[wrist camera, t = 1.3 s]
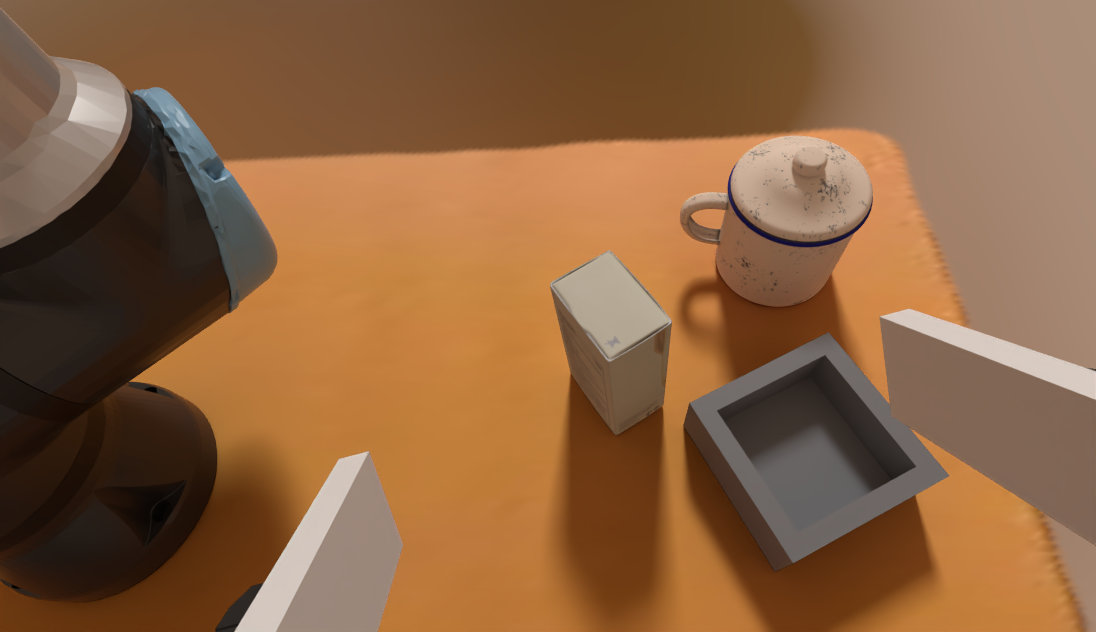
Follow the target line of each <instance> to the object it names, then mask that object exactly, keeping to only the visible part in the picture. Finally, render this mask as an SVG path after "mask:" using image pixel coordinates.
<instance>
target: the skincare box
mask: <svg viewBox="0 0 1096 632" xmlns="http://www.w3.org/2000/svg"><path fill="white" fill-rule="evenodd" d="M550 288H551V292H552V296H553V300H554V304H555V308H556V313H557V317H558V321H559V326H560V330H561V334H562V338H563V342H564V347H565V351H566V355H567V359H568V364H569V368H570V372H571V374H572V376H573V377H574V379H575V380H576V382H577V383H578V385H579V386H580V388H581V389H582V391H583V392H584V394H585V395H586V397H587V398H588V399H589V401H590V402H591V404H592V405H593V406H594V408H595V409H596V411H597V412H598V413H599V415H600V416H601V417H602V419H603V420H604V421H605V423H606V424H607V425H608V427H609V428H610V429H611V430H612V432H613V433H614V434H615V435H618V434H620V433H621V432H623V431H625V430H626V429H628V428H630V427H631V426H633V425H635V424H636V423H638V422H639V421H641V420H643V419H644V418H646V417H647V416H649V415H650V414H652V413H653V412H654V411H656V410H657V409H659V408H660V407H662V406H663V404H664V394H665V384H666V374H667V364H668V355H669V344H670V335H671V325H672V321H671V319H670V318H669V316H668V315H667V314H666V312H665V311H664V310H663V309H662V307H661V306H660V305H659V304H658V302H657V301H656V300H655V299H654V297H653V296H652V295H651V294H650V293H649V292H648V291H647V290H646V288H645V287H644V286H643V285H642V284H641V283H640V282H639V280H638V279H637V278H636V277H635V276H634V275H633V274H632V273H631V272H630V271H629V269H628V268H627V267H626V266H625V265H624V264H623V263H622V262H621V261H620V260H619V259H618V258H617V257H616V256H615V255H614V254H613V253H612V251H607V252H605V253H603V254H601V255H600V256H598V257H596V258H594V259H592V260H590V261H588V262H586V263H584V264H582V265H581V266H579V267H577V268H575V269H574V270H572V271H570V272H568V273H566V274H565V275H563V276H561V277H559V278H558V279H556V280H554V281H552V282H551V284H550Z"/></svg>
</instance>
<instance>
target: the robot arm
mask: <svg viewBox="0 0 1096 632" xmlns="http://www.w3.org/2000/svg"><path fill="white" fill-rule="evenodd" d="M276 265H277V250H276V247H275V244H274V242H273V239H272V237H271V235H270V234H269V232H268V230H267V228H266V226H265V225H264V223H263V221H262V220H261V218H260V216H259V215H258V213H257V211H256V210H255V208H254V207H253V205H252V203H251V202H250V200H249V199H248V197H247V196H246V194H245V193H244V191H243V190H242V188H241V187H240V185H239V184H238V183H237V181H236V180H235V178H234V177H233V175H232V174H231V173H230V172H229V171H228V170H227V169H226V168H225V167H224V164H223V162H222V160H221V159H220V158H219V156H218V155H217V154H216V152H215V150H214V149H213V147H212V145H211V144H210V142H209V141H208V140H207V138H206V137H205V135H204V134H203V133H202V131H201V130H200V129H199V128H198V126H197V125H196V124H195V122H194V121H193V120H192V119H191V117H190V116H189V115H188V113H187V112H186V111H185V110H184V108H183V107H182V106H181V105H180V104H179V103H178V102H177V100H176V99H175V98H174V97H173V96H172V95H171V94H169V93H168V92H167V91H166V90H164V89H161V88H150V89H147V90H142V89H141V91H138V90H136V91H134V92H133V94H131V93H130V92H129V91H128V90H127V89H126V88H125V86H124V85H123V84H122V83H121V82H120V81H119V80H118V79H117V78H116V77H115V76H114V75H113V74H112V73H110V72H109V71H107V70H106V69H104V68H102V67H100V66H98V65H96V64H92V63H89V62H85V61H79V60H72V59H65V58H58V57H51V56H48V55H47V54H46V53H45V52H44V51H43V50H42V49H41V48H40V47H39V46H38V45H37V44H36V43H35V42H34V41H33V40H32V39H31V38H30V37H29V36H28V35H27V34H26V33H25V32H24V31H23V30H22V29H21V28H20V27H19V26H18V25H17V24H16V23H15V22H14V21H13V20H12V19H11V18H10V17H9V16H8V15H7V14H6V13H5V12H4V11H3V10H2V9H1V8H0V580H1V581H2V582H3V583H4V584H5V585H7V586H8V587H10V588H11V589H13V590H14V591H16V592H18V593H20V594H22V595H25V596H28V597H32V598H36V599H40V600H48V601H62V602H88V601H94V600H99V599H103V598H106V597H109V596H112V595H115V594H117V593H119V592H122V591H124V590H126V589H128V588H130V587H132V586H133V585H135V584H137V583H138V582H140V581H142V580H143V579H145V578H146V577H147V576H149V575H150V574H151V573H153V572H154V571H155V570H157V569H158V568H159V567H160V566H161V565H162V564H163V563H165V562H166V561H167V560H168V559H169V558H170V557H171V556H172V555H173V554H174V552H175V551H176V550H177V549H178V548H179V547H180V546H181V544H182V543H183V542H184V541H185V539H186V538H187V537H188V535H189V534H190V532H191V531H192V529H193V528H194V526H195V525H196V523H197V521H198V520H199V518H200V516H201V514H202V512H203V510H204V508H205V506H206V504H207V501H208V499H209V496H210V493H211V490H212V487H213V483H214V479H215V473H216V465H217V449H216V441H215V437H214V433H213V430H212V428H211V426H210V423H209V422H208V420H207V418H206V417H205V415H204V414H203V413H202V412H201V410H200V409H199V408H197V407H196V406H195V405H194V404H193V403H191V402H190V401H188V400H186V399H184V398H183V397H181V396H179V395H177V394H175V393H173V392H172V391H170V390H167V389H165V388H162V387H160V386H156V385H152V384H148V383H140V382H129V381H130V380H132V379H133V378H135V377H136V376H138V375H139V374H140V373H142V372H143V371H145V370H146V369H148V368H149V367H151V366H152V365H153V364H155V363H156V362H158V361H159V360H161V359H162V358H164V357H165V356H166V355H168V354H169V353H171V352H172V351H174V350H175V349H176V348H178V347H179V346H181V345H182V344H184V343H185V342H187V341H188V340H189V339H191V338H192V337H194V336H195V335H197V334H198V333H200V332H201V331H202V330H204V329H205V328H207V327H208V326H210V325H211V324H213V323H214V322H215V321H217V320H218V319H220V318H221V317H223V316H224V315H226V314H227V313H231V312H232V311H233V310H235V309H236V308H237V307H238V305H239V302H240V301H242V300H243V299H244V298H245V297H247V296H248V295H249V294H250V293H252V292H253V291H254V290H255V289H257V288H258V287H259V286H260V285H261V284H263V283H264V282H265V281H266V280H268V279H269V278H270V276H271V275H272V273H273V272H274V269H275V267H276ZM880 324H881V333H882V341H883V349H884V358H885V366H886V375H887V383H888V391H889V400H890V408H891V416H892V417H893V418H895V419H897V420H898V421H900V422H901V423H903V424H905V425H906V426H908V427H909V428H911V429H912V430H914V431H916V432H917V433H919V434H920V435H922V436H923V437H925V438H927V439H928V440H930V441H931V442H933V443H934V444H936V445H938V446H939V447H941V448H942V449H944V450H945V451H947V452H949V453H950V454H952V455H953V456H955V457H956V458H958V459H960V460H961V461H963V462H964V463H966V464H968V465H969V466H971V467H972V468H974V469H975V470H977V471H979V472H980V473H982V474H983V475H985V476H986V477H988V478H990V479H991V480H993V481H994V482H996V483H997V484H999V485H1001V486H1002V487H1004V488H1005V489H1007V490H1008V491H1010V492H1012V493H1013V494H1015V495H1016V496H1018V497H1019V498H1021V499H1023V500H1024V501H1026V502H1027V503H1029V504H1031V505H1032V506H1034V507H1035V508H1037V509H1038V510H1040V511H1042V512H1043V513H1045V514H1046V515H1048V516H1049V517H1051V518H1053V519H1054V520H1056V521H1057V522H1059V523H1060V524H1062V525H1064V526H1065V527H1067V528H1069V529H1070V530H1072V531H1073V532H1075V533H1076V534H1078V535H1079V536H1081V537H1083V538H1084V539H1086V540H1087V541H1089V542H1090V543H1092V544H1094V545H1095V546H1096V369H1091V368H1085V367H1081V366H1078V365H1075V364H1072V363H1069V362H1066V361H1063V360H1060V359H1057V358H1054V357H1051V356H1048V355H1045V354H1042V353H1040V352H1037V351H1034V350H1030V349H1028V348H1025V347H1022V346H1019V345H1016V344H1012V343H1010V342H1007V341H1004V340H1001V339H997V338H994V337H992V336H989V335H986V334H983V333H980V332H977V331H974V330H971V329H968V328H965V327H962V326H959V325H956V324H953V323H950V322H947V321H944V320H941V319H938V318H935V317H932V316H929V315H926V314H923V313H920V312H918V311H915V310H912V309H907V310H903V311H899V312H895V313H892V314H888V315H884V316H880ZM402 547H403V543H402V540H401V538H400V535H399V532H398V529H397V527H396V524H395V521H394V518H393V516H392V513H391V510H390V508H389V505H388V502H387V499H386V497H385V494H384V491H383V488H382V486H381V483H380V480H379V477H378V475H377V472H376V469H375V466H374V464H373V461H372V458H371V455H370V453H369V451H368V452H364V453H361V454H357V455H353V456H349V457H345V458H342V459H339V460H338V462H337V464H336V465H335V467H334V469H333V470H332V472H331V474H330V475H329V477H328V478H327V480H326V482H325V483H324V485H323V487H322V488H321V490H320V492H319V493H318V495H317V497H316V498H315V500H314V502H313V503H312V505H311V506H310V508H309V510H308V511H307V513H306V515H305V516H304V518H303V520H302V521H301V523H300V525H299V526H298V528H297V530H296V531H295V533H294V534H293V536H292V538H291V539H290V541H289V543H288V544H287V546H286V548H285V549H284V551H283V553H282V554H281V556H280V558H279V559H278V561H277V562H276V564H275V566H274V567H273V569H272V571H271V572H270V574H269V576H268V577H267V579H266V581H265V582H264V583H262V584H258V585H254V586H251V587H250V588H249V589H248V590H247V591H246V592H245V593H244V594H243V595H242V596H241V597H240V598H239V599H238V600H237V601H236V602H235V603H234V604H233V605H232V606H231V607H230V608H229V609H228V611H227V612H226V614H225V615H224V617H223V618H222V620H221V621H220V623H219V624H218V626H217V627H216V629H215V632H378V629H379V625H380V622H381V618H382V615H383V612H384V608H385V605H386V601H387V598H388V595H389V591H390V588H391V584H392V581H393V577H394V574H395V571H396V567H397V564H398V560H399V557H400V554H401V550H402Z"/></svg>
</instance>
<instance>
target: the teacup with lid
mask: <svg viewBox="0 0 1096 632" xmlns="http://www.w3.org/2000/svg"><path fill="white" fill-rule="evenodd" d="M872 202H873V190H872V184H871V181H870V178H869V176H868V174H867V172H866V170H865V168H864V167H863V166H862V164H861V163H860V162H859V161H858V160H857V159H856V158H855V157H854V156H853V155H852V154H850V153H849V152H848V151H846V150H845V149H843V148H842V147H840V146H838V145H836V144H833V143H831V142H828V141H826V140H822V139H819V138H814V137H808V136H785V137H779V138H774V139H771V140H768V141H765V142H763V143H761V144H759V145H757V146H755V147H753V148H752V149H751V150H749V151H748V152H747V153H745V154H744V155H743V156H742V157H741V159H740V160H739V161H738V162H737V163H736V165H735V166H734V168H733V170H732V172H731V174H730V177H729V181H728V193H715V192H709V193H701V194H697V195H695V196H692V197H690V198H689V199H687V200H686V201H685V202H684V204H683V205H682V208H681V212H680V222H681V225H682V228H683V230H684V231H685V232H686V233H687V234H688V235H689V236H690V237H691V238H693V239H695V240H697V241H700V242H703V243H708V244H716V245H717V248H716V264H717V268H718V271H719V273H720V275H721V277H722V278H723V280H724V281H725V283H726V284H727V285H728V286H729V287H730V288H731V289H732V290H733V291H734V292H735V293H737V294H738V295H740V296H741V297H743V298H745V299H747V300H749V301H752V302H754V303H757V304H761V305H765V306H774V307H783V306H791V305H795V304H799V303H801V302H804V301H806V300H808V299H810V298H812V297H813V296H815V295H816V294H817V293H818V292H819V291H820V290H821V289H822V288H823V287H824V285H825V284H826V282H827V280H828V278H829V277H830V275H831V273H832V271H833V270H834V268H835V266H836V264H837V262H838V261H839V259H840V257H841V255H842V254H843V252H844V250H845V248H846V247H847V245H848V243H849V241H850V239H851V238H852V236H853V234H854V233H855V232H856V231H857V230H858V229H859V228H860V227H861V226H862V225H863V224H864V222H865V221H866V219H867V218H868V216H869V213H870V211H871V207H872ZM703 209H722V210H725V214H724V218H723V223H722V227H721V229H711V228H706V227H703V226H700V225H698V224H697V223H696V222H695V221H694V220H693V219H692V218H691V215H692V214H693V213H694V212H696V211H699V210H703Z"/></svg>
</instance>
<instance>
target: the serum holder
mask: <svg viewBox="0 0 1096 632" xmlns="http://www.w3.org/2000/svg"><path fill="white" fill-rule="evenodd" d="M683 426H684V428H685V429H686V431H687V432H688V434H689V436H690V437H691V439H692V440H693V442H694V444H695V445H696V447H697V448H698V450H699V452H700V453H701V455H702V456H703V458H704V460H705V461H706V463H707V464H708V466H709V468H710V469H711V471H712V472H713V474H714V476H715V477H716V479H717V480H718V482H719V483H720V485H721V487H722V488H723V490H724V491H725V493H726V495H727V496H728V498H729V499H730V501H731V503H732V504H733V506H734V507H735V509H736V511H737V512H738V514H739V515H740V517H741V519H742V520H743V522H744V523H745V525H746V527H747V528H748V530H749V531H750V533H751V535H752V536H753V538H754V539H755V541H756V543H757V544H758V546H759V547H760V549H761V551H762V552H763V554H764V555H765V557H766V558H767V560H768V562H769V563H770V565H771V566H772V568H773V570H774V571H777V570H780V569H782V568H784V567H786V566H788V565H791V564H793V563H795V562H796V561H798V560H800V559H802V558H804V557H805V556H807V555H809V554H811V553H813V552H814V551H816V550H818V549H820V548H821V547H823V546H825V545H827V544H829V543H830V542H832V541H834V540H836V539H838V538H839V537H841V536H843V535H845V534H846V533H848V532H850V531H852V530H854V529H855V528H857V527H859V526H861V525H863V524H864V523H866V522H868V521H870V520H872V519H873V518H875V517H877V516H879V515H880V514H882V513H884V512H886V511H888V510H889V509H891V508H893V507H895V506H897V505H898V504H900V503H902V502H904V501H905V500H907V499H909V498H911V497H913V496H914V495H916V494H918V493H920V492H922V491H923V490H925V489H927V488H929V487H930V486H932V485H934V484H936V483H938V482H939V481H941V480H943V479H945V478H947V477H948V476H949V475H948V474H947V472H946V471H945V470H944V469H943V468H942V466H941V465H940V464H939V463H938V462H937V460H936V459H935V458H934V457H933V456H932V454H931V453H930V452H929V451H928V450H927V449H926V447H925V446H924V445H923V444H922V443H921V441H920V440H919V439H918V438H917V437H916V435H915V434H914V433H913V432H912V431H911V429H910V428H909V427H908V426H906V425H905V424H903V423H901V422H900V421H898V420H897V419H895V418H893V417H892V416H891V408H890V405H889V403H888V402H887V401H886V400H885V399H884V397H883V396H882V395H881V394H880V393H879V391H878V390H877V389H876V388H875V387H874V385H873V384H872V383H871V382H870V381H869V380H868V378H867V377H866V376H865V375H864V374H863V372H862V371H861V370H860V369H859V368H858V366H857V365H856V364H855V363H854V362H853V360H852V359H851V358H850V357H849V356H848V355H847V353H846V352H845V351H844V350H843V349H842V347H841V346H840V345H839V344H838V343H837V341H836V340H835V339H834V338H833V337H832V336H831V334H830V333H829V332H828V333H826V334H824V335H822V336H820V337H818V338H816V339H814V340H812V341H810V342H808V343H806V344H804V345H802V346H800V347H798V348H796V349H795V350H793V351H791V352H789V353H787V354H785V355H783V356H781V357H779V358H777V359H775V360H773V361H771V362H769V363H767V364H765V365H763V366H761V367H759V368H757V369H755V370H753V371H751V372H749V373H747V374H745V375H743V376H742V377H740V378H738V379H736V380H734V381H732V382H730V383H728V384H726V385H724V386H722V387H720V388H718V389H716V390H714V391H712V392H710V393H708V394H706V395H704V396H702V397H700V398H698V399H696V400H694V401H692V402H690V403H689V407H688V410H687V414H686V418H685V421H684V425H683Z"/></svg>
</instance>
